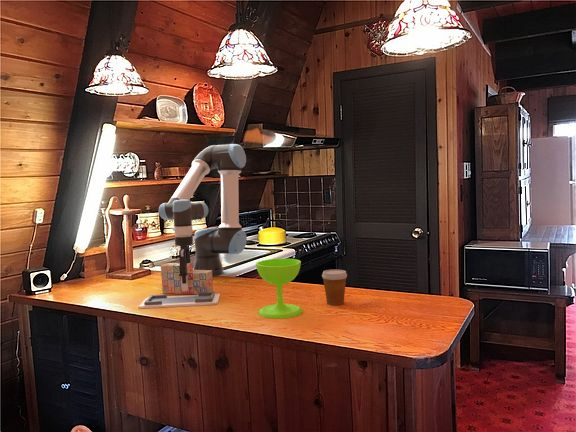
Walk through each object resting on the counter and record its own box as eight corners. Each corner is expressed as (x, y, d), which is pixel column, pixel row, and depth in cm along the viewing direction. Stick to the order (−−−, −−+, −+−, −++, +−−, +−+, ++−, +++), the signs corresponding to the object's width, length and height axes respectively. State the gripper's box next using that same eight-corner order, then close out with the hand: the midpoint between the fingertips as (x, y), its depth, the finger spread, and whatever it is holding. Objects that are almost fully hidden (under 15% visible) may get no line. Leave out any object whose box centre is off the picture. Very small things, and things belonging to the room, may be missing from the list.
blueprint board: (146, 299, 205) (146, 294, 205) (220, 295, 206) (219, 290, 206) (138, 308, 191) (138, 303, 191) (217, 304, 192) (216, 299, 192)
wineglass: (286, 303, 189) (284, 256, 188) (311, 312, 176) (309, 262, 175) (250, 311, 181) (247, 262, 179) (273, 321, 167) (271, 268, 166)
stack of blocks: (213, 291, 214) (212, 263, 213) (207, 295, 208) (205, 266, 207) (169, 289, 220) (168, 262, 219) (162, 293, 215) (160, 265, 213)
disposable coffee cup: (330, 308, 181) (329, 275, 180) (318, 302, 190) (317, 271, 189) (353, 304, 185) (352, 272, 184) (339, 298, 194) (338, 268, 193)
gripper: (178, 233, 222) (181, 283, 224) (170, 239, 202) (173, 294, 204) (195, 232, 223) (198, 282, 225) (188, 238, 202) (192, 293, 204)
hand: (186, 288), depth 214 cm, fingers closed on stack of blocks, 8 cm apart
